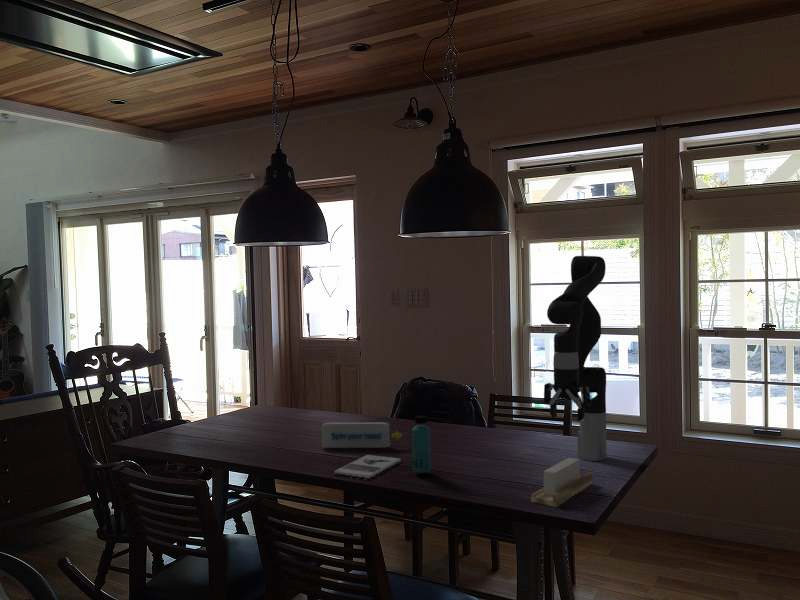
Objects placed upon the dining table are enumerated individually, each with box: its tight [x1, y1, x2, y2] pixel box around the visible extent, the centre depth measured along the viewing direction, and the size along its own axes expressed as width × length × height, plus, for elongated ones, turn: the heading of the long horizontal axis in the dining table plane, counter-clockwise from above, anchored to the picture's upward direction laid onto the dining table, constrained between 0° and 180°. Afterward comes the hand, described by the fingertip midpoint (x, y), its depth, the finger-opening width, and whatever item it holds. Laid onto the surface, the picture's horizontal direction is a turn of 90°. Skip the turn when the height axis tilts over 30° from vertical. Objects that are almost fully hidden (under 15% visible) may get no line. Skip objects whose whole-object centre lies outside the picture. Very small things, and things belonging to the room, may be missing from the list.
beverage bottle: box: [411, 415, 432, 473], centre depth 219 cm, size 6×7×20 cm
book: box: [334, 454, 401, 478], centre depth 228 cm, size 23×14×2 cm, turn 153°
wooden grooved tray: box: [530, 472, 593, 508], centre depth 197 cm, size 8×26×4 cm, turn 141°
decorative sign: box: [321, 421, 403, 449], centre depth 257 cm, size 32×4×10 cm, turn 85°
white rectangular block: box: [543, 457, 581, 496], centre depth 197 cm, size 4×18×7 cm, turn 141°
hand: (567, 418), depth 198 cm, fingers open, 8 cm apart
